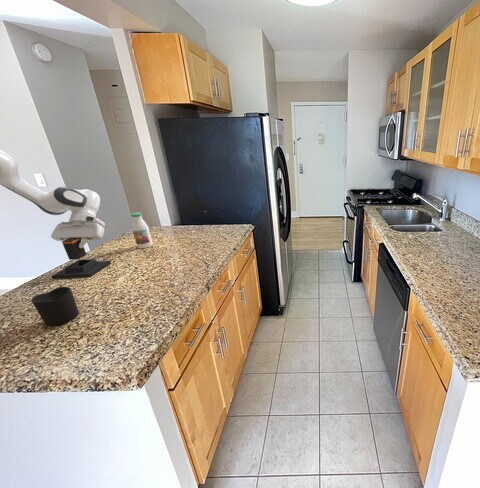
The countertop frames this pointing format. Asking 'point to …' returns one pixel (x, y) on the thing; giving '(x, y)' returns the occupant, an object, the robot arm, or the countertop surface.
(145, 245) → the milk bottle
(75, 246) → the black orange block
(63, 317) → the pen holder
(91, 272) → the connector base
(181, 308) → the countertop surface
